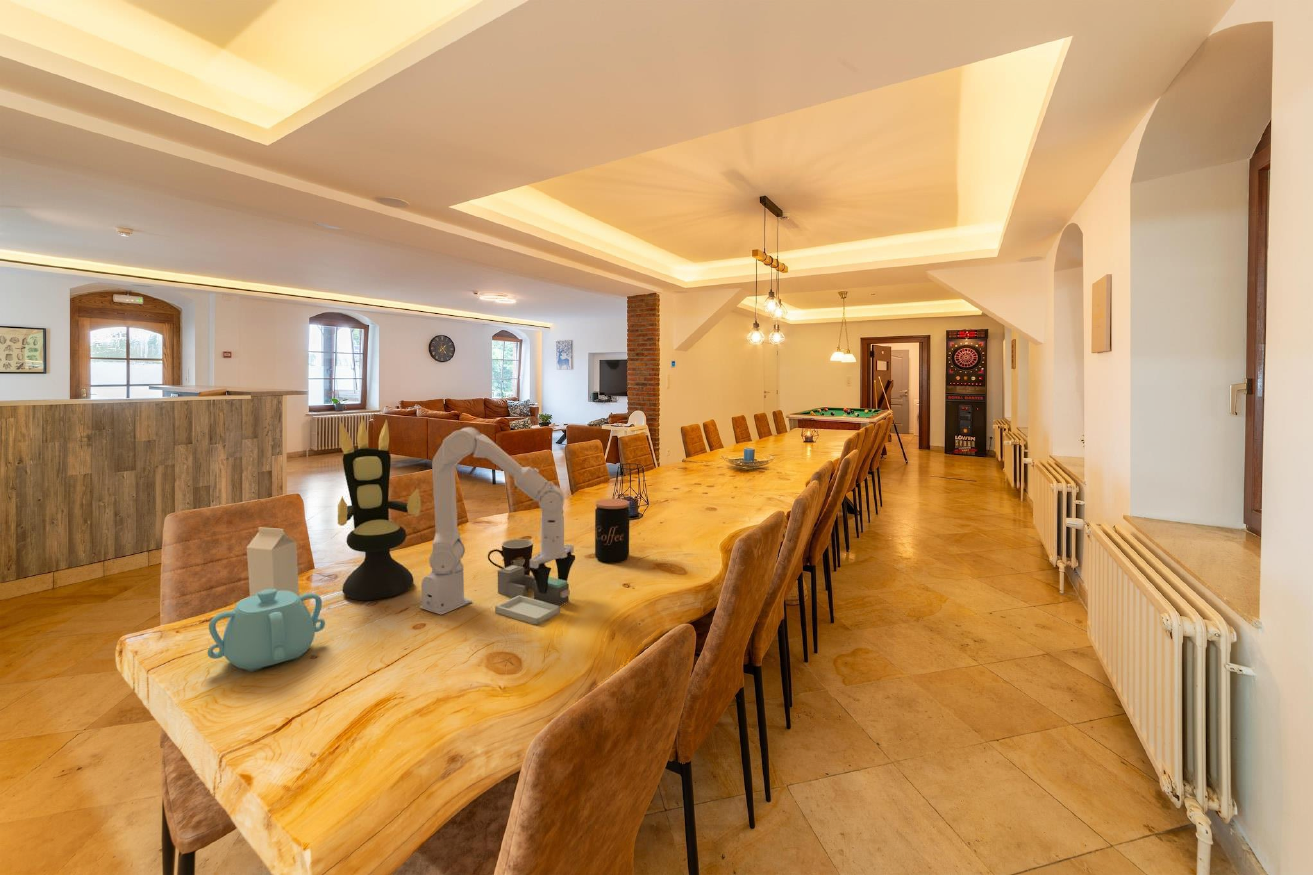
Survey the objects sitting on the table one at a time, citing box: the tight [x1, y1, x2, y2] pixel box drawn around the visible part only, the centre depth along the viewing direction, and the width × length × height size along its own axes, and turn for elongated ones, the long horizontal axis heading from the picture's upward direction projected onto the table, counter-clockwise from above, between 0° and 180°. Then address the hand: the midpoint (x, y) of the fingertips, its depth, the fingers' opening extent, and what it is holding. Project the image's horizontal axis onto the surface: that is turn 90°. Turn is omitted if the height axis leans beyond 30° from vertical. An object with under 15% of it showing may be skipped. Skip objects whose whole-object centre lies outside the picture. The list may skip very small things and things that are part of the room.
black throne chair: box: [337, 417, 422, 601], centre depth 146 cm, size 19×22×45 cm
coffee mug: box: [487, 538, 534, 576], centre depth 157 cm, size 12×9×10 cm
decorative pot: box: [207, 589, 326, 672], centre depth 111 cm, size 16×16×14 cm
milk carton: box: [246, 526, 300, 597], centre depth 136 cm, size 7×7×19 cm
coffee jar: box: [594, 498, 631, 564], centre depth 175 cm, size 11×11×18 cm
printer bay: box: [497, 565, 535, 598], centre depth 147 cm, size 7×9×6 cm
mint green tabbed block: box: [533, 576, 571, 607], centre depth 141 cm, size 4×9×6 cm, turn 60°
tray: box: [494, 595, 561, 626], centre depth 134 cm, size 8×13×2 cm, turn 60°
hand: (552, 587), depth 141 cm, fingers open, 7 cm apart
